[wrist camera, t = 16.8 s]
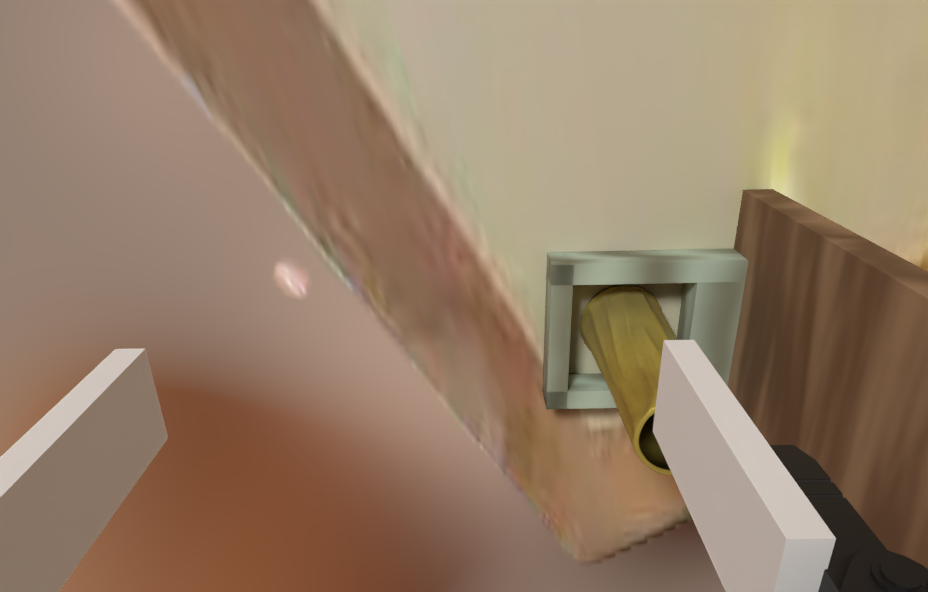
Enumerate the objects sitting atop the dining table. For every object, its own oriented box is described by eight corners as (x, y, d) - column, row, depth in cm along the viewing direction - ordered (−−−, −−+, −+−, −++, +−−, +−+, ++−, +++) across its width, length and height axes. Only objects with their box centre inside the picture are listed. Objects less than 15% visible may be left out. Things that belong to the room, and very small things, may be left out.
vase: (673, 292, 46) (757, 400, 33) (646, 364, 48) (715, 491, 35) (593, 277, 46) (646, 379, 32) (570, 350, 48) (610, 473, 35)
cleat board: (540, 436, 51) (601, 750, 29) (549, 193, 43) (641, 372, 21) (729, 432, 51) (933, 744, 29) (772, 189, 43) (1099, 363, 21)
